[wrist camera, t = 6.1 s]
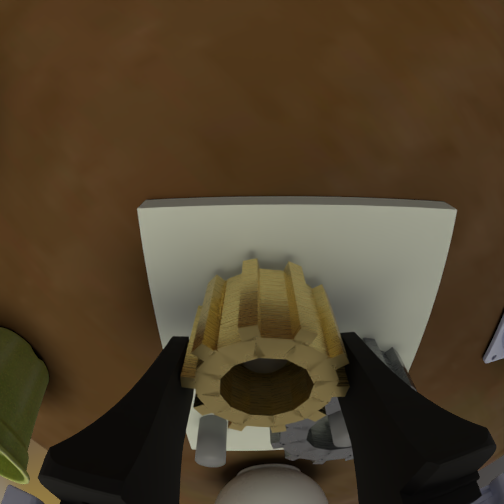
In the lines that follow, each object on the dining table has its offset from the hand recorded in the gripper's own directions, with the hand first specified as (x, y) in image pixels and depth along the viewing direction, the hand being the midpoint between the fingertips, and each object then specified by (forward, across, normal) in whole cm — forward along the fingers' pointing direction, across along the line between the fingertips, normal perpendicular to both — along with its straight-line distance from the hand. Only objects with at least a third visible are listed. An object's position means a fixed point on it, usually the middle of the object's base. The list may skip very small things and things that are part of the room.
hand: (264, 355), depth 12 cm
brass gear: (+2, 0, 0) cm, 2 cm away
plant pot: (+4, +18, +6) cm, 19 cm away
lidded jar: (+4, -1, +21) cm, 21 cm away
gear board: (+4, -2, +4) cm, 6 cm away
